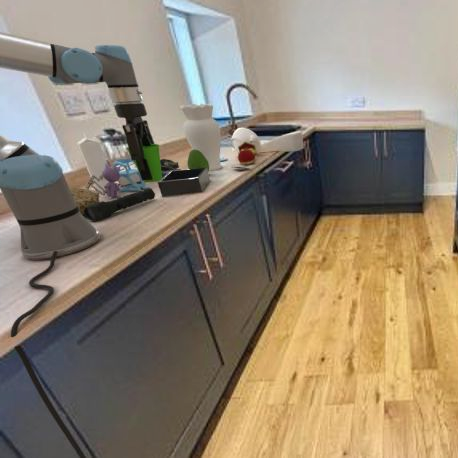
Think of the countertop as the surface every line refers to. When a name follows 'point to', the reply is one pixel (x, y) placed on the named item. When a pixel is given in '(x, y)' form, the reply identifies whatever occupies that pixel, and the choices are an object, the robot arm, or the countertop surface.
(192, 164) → the fruit
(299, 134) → the shoe sole
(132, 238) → the countertop surface
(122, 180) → the ink box
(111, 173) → the figurine
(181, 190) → the dark grey open box
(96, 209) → the flashlight
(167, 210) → the countertop surface
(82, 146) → the milk
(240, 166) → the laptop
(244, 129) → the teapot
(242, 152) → the figurine
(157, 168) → the cup
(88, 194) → the sponge
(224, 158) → the toy
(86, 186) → the maze
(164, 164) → the race car
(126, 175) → the chair
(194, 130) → the vase
